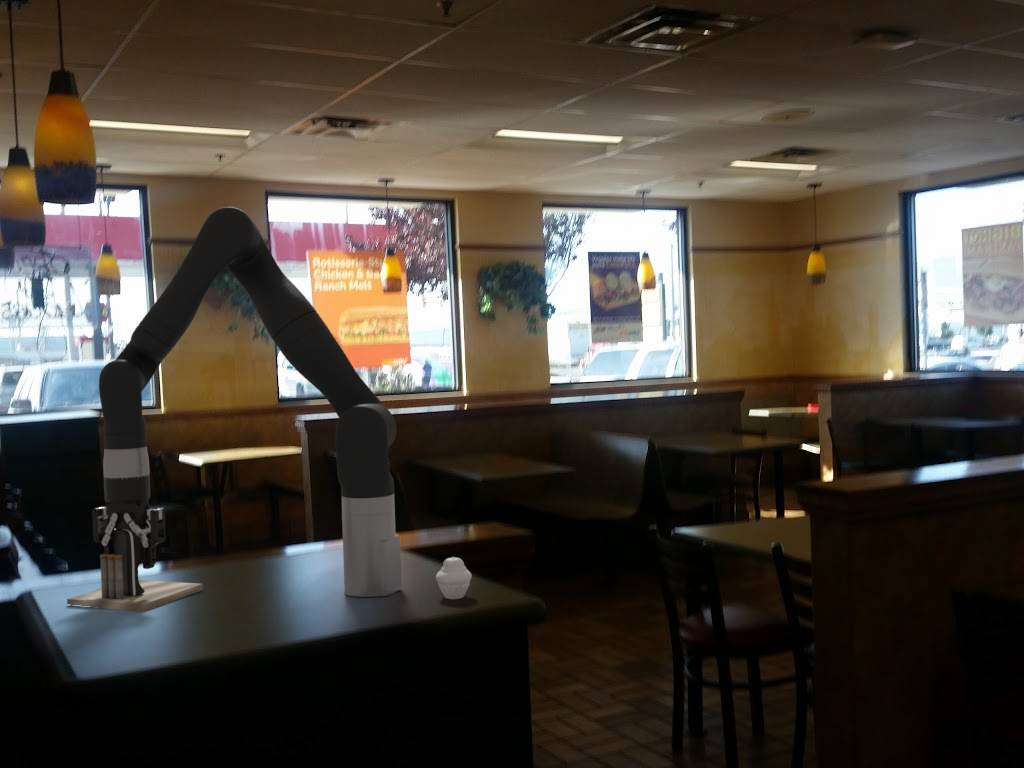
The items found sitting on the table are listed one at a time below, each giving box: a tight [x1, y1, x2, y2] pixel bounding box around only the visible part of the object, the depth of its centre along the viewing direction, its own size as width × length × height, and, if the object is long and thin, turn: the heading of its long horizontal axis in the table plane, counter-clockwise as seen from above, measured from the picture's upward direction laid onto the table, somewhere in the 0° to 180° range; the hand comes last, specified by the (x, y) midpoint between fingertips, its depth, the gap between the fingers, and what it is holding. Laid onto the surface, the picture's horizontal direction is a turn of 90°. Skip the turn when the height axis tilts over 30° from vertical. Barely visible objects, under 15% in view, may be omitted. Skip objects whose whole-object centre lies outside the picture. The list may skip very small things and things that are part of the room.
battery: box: [112, 529, 145, 596], centre depth 182 cm, size 7×4×11 cm, turn 43°
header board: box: [66, 553, 204, 612], centre depth 184 cm, size 16×16×9 cm
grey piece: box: [435, 556, 473, 600], centre depth 178 cm, size 6×6×7 cm
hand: (130, 567), depth 182 cm, fingers closed on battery, 7 cm apart
